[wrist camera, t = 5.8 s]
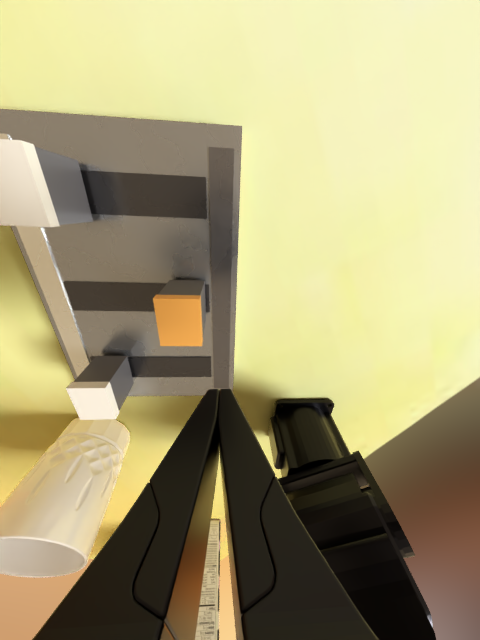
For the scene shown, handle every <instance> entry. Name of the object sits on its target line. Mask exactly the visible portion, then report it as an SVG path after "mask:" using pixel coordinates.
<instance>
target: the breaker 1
mask: <svg viewBox="0 0 480 640" xmlns="http://www.w3.org/2000/svg"><path fill="white" fill-rule="evenodd" d="M85 222H93V219H92V215H91V211H90V207H89V203H88V199H87V195H86V191H85V187H84V183H83V179H82V175H81V171H80V167H79V163H78V160H75V159H72V158H69V157H66V156H63V155H59V154H56V153H53V152H50V151H47V150H44V149H41V148H38V147H35V146H34V144H31V143H28V142H25V141H22V140H8V139H0V225H6V226H32V227H57V226H60V225H64V224H74V223H85Z"/></svg>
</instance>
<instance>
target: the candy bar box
mask: <svg viewBox="0 0 480 640" xmlns="http://www.w3.org/2000/svg"><path fill="white" fill-rule="evenodd" d="M219 571H220V520H219V519H211V522H210V529H209V537H208V544H207V552H206V560H205V567H204V575H203V582H202V590H201V597H200V605H199V613H198V620H197V628H196V635H195V640H219V575H220V572H219Z"/></svg>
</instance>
